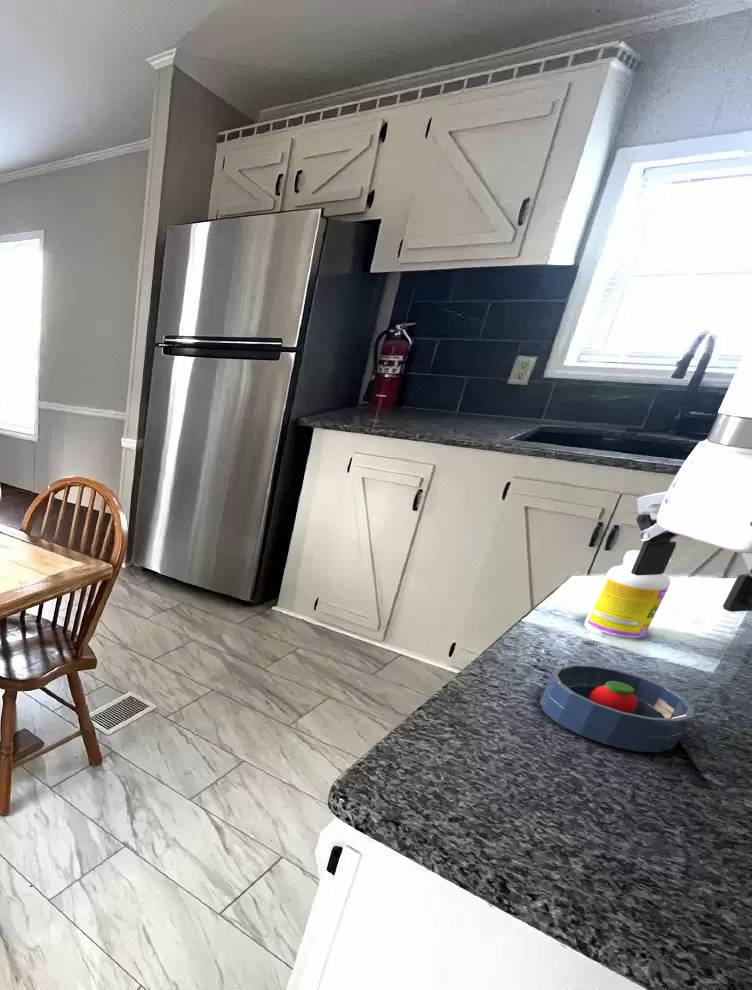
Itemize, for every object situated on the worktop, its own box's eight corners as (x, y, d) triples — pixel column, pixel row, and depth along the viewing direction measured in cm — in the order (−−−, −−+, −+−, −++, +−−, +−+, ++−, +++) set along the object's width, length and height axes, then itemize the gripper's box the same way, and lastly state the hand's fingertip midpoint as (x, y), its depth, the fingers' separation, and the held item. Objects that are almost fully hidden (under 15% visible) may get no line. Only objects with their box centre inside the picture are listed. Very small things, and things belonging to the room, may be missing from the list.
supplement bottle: (643, 647, 94) (683, 567, 88) (582, 634, 98) (618, 556, 92) (640, 631, 98) (679, 554, 93) (583, 619, 102) (617, 544, 97)
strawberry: (619, 716, 78) (637, 682, 76) (630, 734, 75) (649, 698, 73) (576, 707, 80) (593, 673, 78) (585, 724, 77) (602, 689, 75)
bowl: (652, 712, 79) (670, 679, 77) (691, 768, 70) (713, 732, 68) (529, 688, 85) (543, 656, 83) (550, 736, 76) (567, 702, 74)
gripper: (926, 450, 55) (822, 624, 62) (709, 418, 71) (646, 561, 78) (838, 454, 55) (745, 628, 62) (641, 422, 71) (584, 564, 78)
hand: (690, 590), depth 70 cm, fingers open, 9 cm apart
